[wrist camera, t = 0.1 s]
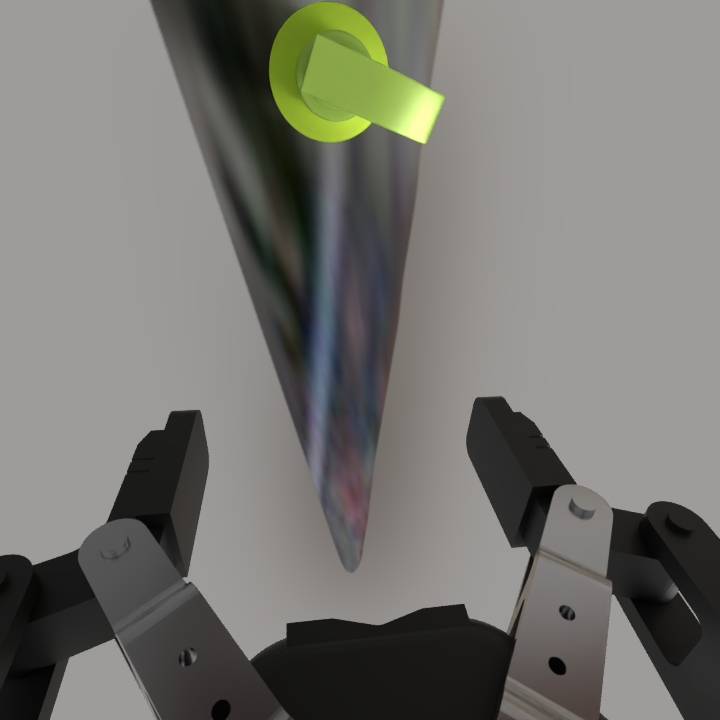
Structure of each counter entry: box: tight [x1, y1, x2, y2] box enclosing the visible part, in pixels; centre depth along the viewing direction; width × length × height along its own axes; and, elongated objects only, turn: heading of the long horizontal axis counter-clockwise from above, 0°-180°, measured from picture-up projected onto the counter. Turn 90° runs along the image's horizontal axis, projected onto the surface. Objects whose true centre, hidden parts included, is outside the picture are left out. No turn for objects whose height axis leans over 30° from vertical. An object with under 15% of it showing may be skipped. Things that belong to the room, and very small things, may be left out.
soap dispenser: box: [269, 2, 445, 144], centre depth 25 cm, size 6×7×20 cm
